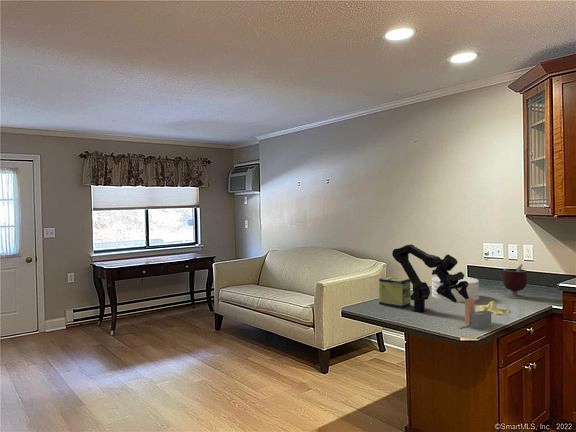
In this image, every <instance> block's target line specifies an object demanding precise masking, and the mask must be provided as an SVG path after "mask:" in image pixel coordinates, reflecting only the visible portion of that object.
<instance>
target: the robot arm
mask: <svg viewBox="0 0 576 432" xmlns="http://www.w3.org/2000/svg"><path fill="white" fill-rule="evenodd" d="M410 254H411V255H413V256H414V257H416V258H418V259H419V260H421V261H422V262H423V263H424V265H425V266H427V268H430V269H432V272H431V275H432V276H434V275H436V277H437V276H438V278H439V279H440V280H441V281H440V283H443V284H441V285H440V286H439V287H438V288H437V293H438V294H439V295H440V294H441V296H444V297H446V298H448V299H450V300H451V301H450V302H453V303H454V304H457V303H458V302H457V300H456V298H455V297H454V295H453V294H452V292H451V289H456V290H457V291H458V293H459V294H460V295H461V296H463V297H464V298H465V299H469V297H468V294H467V287H468V285H469V284H468V282H467V281H460V282H459V281H458V280H461V279H464V277H465V274H464V273H463V272H462V271H459V272H457V273H454V274H452V273H449V272H450V271H452V270H453V269H454V268H455V267H456V265H457V264H458V260H457V258H455V257H453V256H451V255H450V254H445V256H444V258H441V257H440V256H437V255H435V254H434V255H433V254H430V253H427V252H425V251H423V250H421V249H420V248H418V247H417V246H415V245H414V244H406V245H403V246H402V247H398V248H394V249H393V250H392V254H391V255H392V257H393V259H394V260H395V261H396V262H397V263H399V264H400V265H401V266H402V269H403V271H404V272H405V274H406V276H407V279H410V284H412V292H413V293H411V294H410V301H413V309H412V310H411V311H413V312H416V313H417V312H418V313H425V312H427V308H426V306H425V305H426V300H429V297H430V295H431V289H430V287H429V285H428V283H427V282H425V281H424V282H423V281H421V280H420V278H419V275H418V274H417V273H416V271H415V269H414V267H413V265H412V263H411V261H410V260H409V257H410V256H409V255H410ZM434 268H435V269H434ZM458 282H459V283H458ZM456 283H458V284H457V285H456Z"/></svg>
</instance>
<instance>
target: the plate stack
mask: <svg viewBox="0 0 576 432" xmlns="http://www.w3.org/2000/svg"><path fill="white" fill-rule="evenodd" d="M440 281H441V280H440V279H439V278H438V276H437V275H436V276H433V277H431V297H432V298H434V299H437V300H441V301H444V302H445V301H447V302H452V301H451V300H450V299H448V298H446V297H444V296H441V294H440V295H439V294H438V293H437V288H438V287H439V286H440V285H441V284H443V283H440ZM458 281H459V282H460V281H467V282H468V284H469V285H468V287H467V294H468V297H469V298H471V299H475V301H478V300H479V298H480V296H479V295H480V293H479V289H480V288H479V283H480V281H479V279H478V278H475V277H474V278H473V277H468V276H464V279H461V280H458ZM459 282H458V283H459ZM458 283H456V285H457V284H458ZM451 292H452V294H453V295H454V297H455V298H456V300H457V302H456V303H458V302H459V303H460V302H461V303H465V298H464V297H463V296H461V295H460V294H459V293H458V291H457V290H456V289H451Z"/></svg>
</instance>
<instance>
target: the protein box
mask: <svg viewBox="0 0 576 432" xmlns="http://www.w3.org/2000/svg"><path fill="white" fill-rule="evenodd" d="M378 282H379V284H378V286H379V287H378V288H379V289H378V292H379V293H378V294H379V295H378V297H379V299H378V305H381V304H382V306H387V307H388V306H389V307H392V308H399V309H404V308H407V307H408V306H411V303H412V302H411V297H410V296H411V281H410V279H409V278H402V277H394V276H386V277H381V278H379V280H378Z"/></svg>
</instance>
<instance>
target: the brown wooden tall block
mask: <svg viewBox="0 0 576 432" xmlns="http://www.w3.org/2000/svg"><path fill="white" fill-rule="evenodd" d="M475 305H476V304H475V299H471V298H469V299H465V302H464V323H465V325H469V324H472V313H474V312H475V311H476V309H475V308H476V306H475Z"/></svg>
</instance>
